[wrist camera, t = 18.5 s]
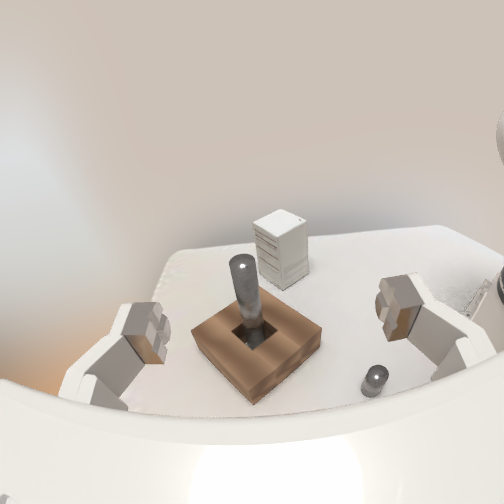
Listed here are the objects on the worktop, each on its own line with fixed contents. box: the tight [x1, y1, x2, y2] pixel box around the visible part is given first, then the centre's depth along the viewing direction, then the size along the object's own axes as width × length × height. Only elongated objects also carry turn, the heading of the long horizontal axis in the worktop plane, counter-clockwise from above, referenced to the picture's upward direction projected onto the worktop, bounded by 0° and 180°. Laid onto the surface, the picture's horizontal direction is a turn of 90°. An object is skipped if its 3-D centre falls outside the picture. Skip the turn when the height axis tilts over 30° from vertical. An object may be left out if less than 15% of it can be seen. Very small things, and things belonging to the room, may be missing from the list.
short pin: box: [361, 365, 389, 398], centre depth 32 cm, size 3×3×4 cm
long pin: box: [229, 254, 266, 351], centre depth 37 cm, size 3×3×18 cm
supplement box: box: [253, 209, 308, 290], centre depth 53 cm, size 7×7×13 cm
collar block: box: [191, 286, 322, 405], centre depth 41 cm, size 14×14×5 cm
